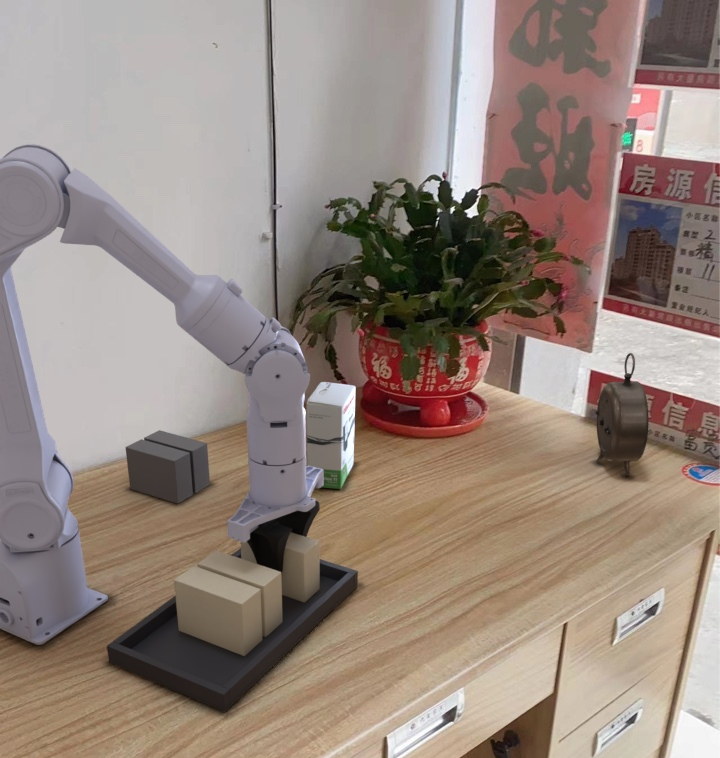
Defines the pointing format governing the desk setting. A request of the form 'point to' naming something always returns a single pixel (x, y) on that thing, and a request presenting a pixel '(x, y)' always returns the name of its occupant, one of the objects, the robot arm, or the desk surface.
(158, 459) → the gray rectangular block
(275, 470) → the robot arm
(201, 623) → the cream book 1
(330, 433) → the ink box
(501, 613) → the desk surface
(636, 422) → the alarm clock
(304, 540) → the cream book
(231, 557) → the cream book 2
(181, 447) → the gray rectangular block
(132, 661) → the tray
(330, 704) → the desk surface
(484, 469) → the desk surface
